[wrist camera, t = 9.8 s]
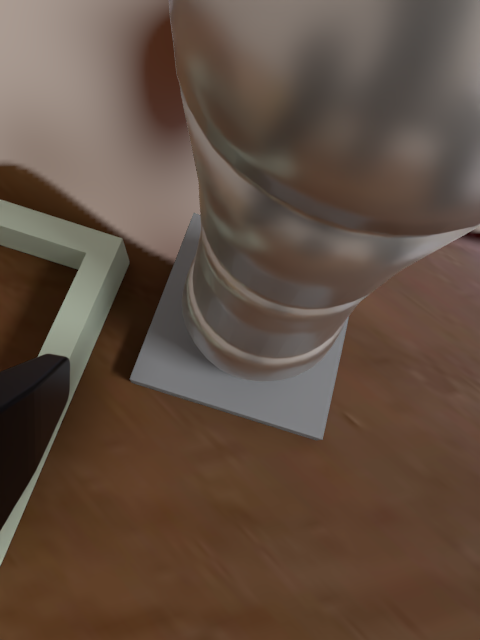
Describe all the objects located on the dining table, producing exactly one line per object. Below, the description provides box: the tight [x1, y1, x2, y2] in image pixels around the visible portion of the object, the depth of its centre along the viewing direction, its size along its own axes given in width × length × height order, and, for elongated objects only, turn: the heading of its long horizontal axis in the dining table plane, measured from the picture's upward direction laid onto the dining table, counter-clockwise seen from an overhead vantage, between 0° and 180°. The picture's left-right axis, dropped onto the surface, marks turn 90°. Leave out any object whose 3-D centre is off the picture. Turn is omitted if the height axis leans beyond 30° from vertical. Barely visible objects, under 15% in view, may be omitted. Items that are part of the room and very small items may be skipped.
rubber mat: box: [130, 213, 349, 440], centre depth 20 cm, size 9×9×1 cm
